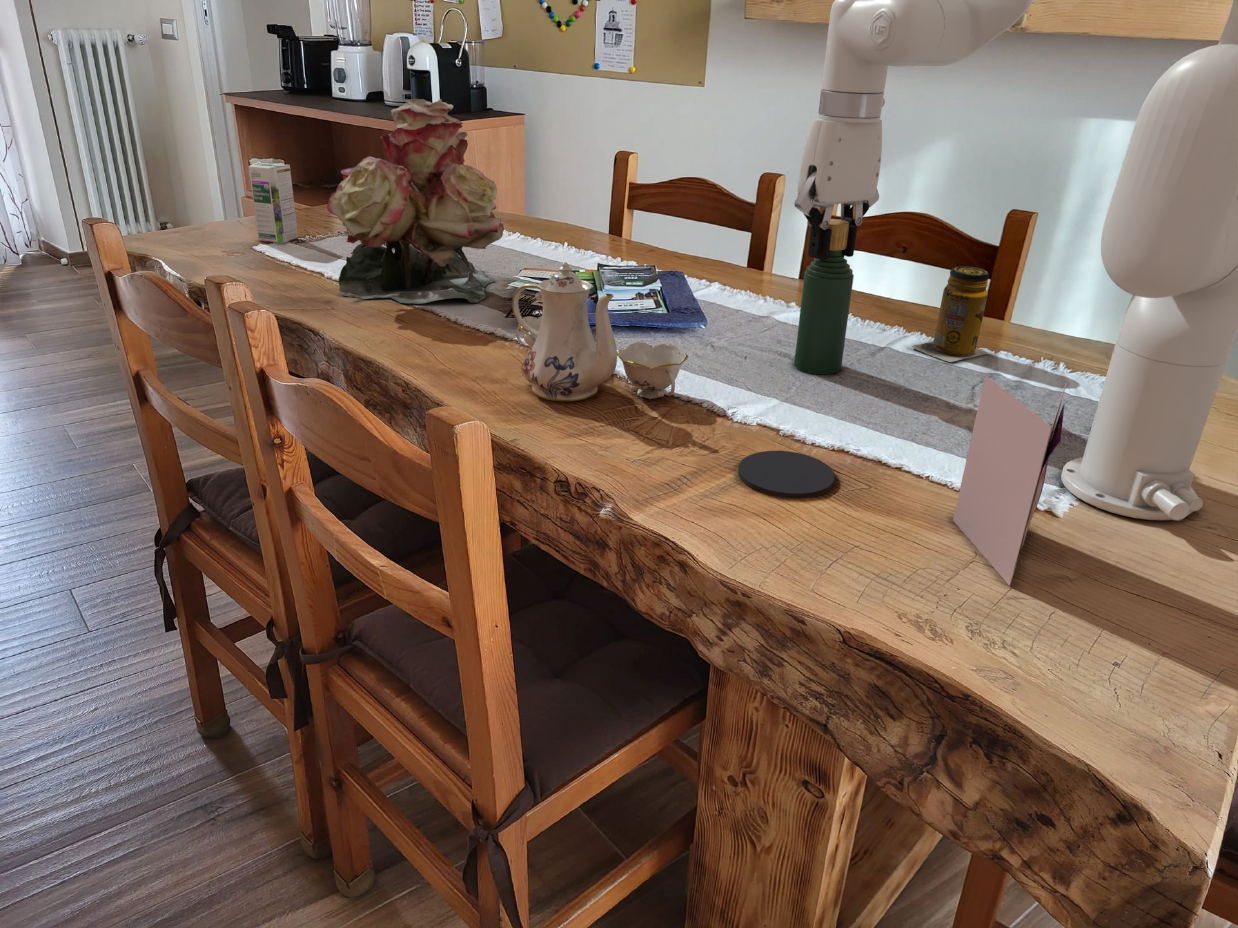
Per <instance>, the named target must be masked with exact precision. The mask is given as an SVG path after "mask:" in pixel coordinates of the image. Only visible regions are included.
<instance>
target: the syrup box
mask: <svg viewBox="0 0 1238 928" xmlns="http://www.w3.org/2000/svg"><path fill="white" fill-rule="evenodd" d="M290 166H291V165H290V164H282V163H281V164H279V163H270V162H269V163H268V162H259V163H255V164H254V163H253V164H251V165H249V166H248V174H249V182H250V188H251V189H250V190H251V194H252V202H253V203H252V204H253V209H254V215H255V225H256V231H257V239H258V242H268V243H269V242H270V243H277V244H285V243H287V242H290V241H293V240H295V239H299V232H298V223H297V214H296V208H295V197H294V190H293V182H292V180H293V179H292V173H291V167H290Z"/></svg>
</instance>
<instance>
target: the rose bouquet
mask: <svg viewBox="0 0 1238 928" xmlns="http://www.w3.org/2000/svg"><path fill="white" fill-rule="evenodd" d="M453 109H454V105H453V104H449V103H447V102H444V101H443V99H442V98H440V99H438V100H437V101H434V102H431V101H429V100H426V99H424V98H421V99H420V98H413V99H412V98H410V99H405V103H404V104H403V105H401V106H399V107H397V108H393V109H391V110H390V113H391V117H392V120H393V123H394V125H395V126H396V128H395V129H394V130H393V131H392V132H391V133H389V134H383V135H382V136H380V137H379V138H378V139H379V140H380V141H381V143H382V144H383V146H384V149H385V151H386V155H387V157H388V159H389V161H387V160H385V159H383V158H378V157H377V158H376V157H373V156H367V157H365V158H363V159H362V160H361V161H360V162H358V163H357V165H356V166H354V168H355V169H354V170H353V171H352V173H351V174H350V175H349V176H348V177H347V178H346V179H345V180H344V179H343V180H341V181H340V183H338V186H337V188H336V191H335V192H331V194H330V197H329V199H328V202H327V205H326V209H327V211H328V212H329V214H331V215H334V216H336V217H337V218H338V219H339V220H340V222H342V223H341V224H342V225H343V226H344V227H345V229H346V231H347V232H349V233H351V234H349V235H348V236H347V238H346V243H351V244H355V243H357V242H358V241H359V244H357V245H356V246H355V247H354V249H353V250H352V252H351V253H350V254H351V256H346V257H345V258H346V259H345V260H346V261H345V264H344V265H343V266H342V267H341V270H340V273H339V277H338V286H339V287H338V291H339V292H340V294H341V295H342V296H345V297H352V298H353V297H355V298H361V299H359V301H360V300H362V299H363V300H369V299H379V298H380V299H383V298H384V299H385V298H387V299H388V298H389V299H390V298H391V299H393V300H395V301H397V302H398V303H400V304H418V305H419V304H421V305H422V304H427V303H431V302H437V301H441V300H449V299H450V300H451V299H466V300H467V301H468V302H469V303H471V304H477V303H479V302H480V301H482V300H484V299H486V298H487V293H486V289H485V287H486V286H487V285H489V284H491V283H494V282H495V280H494V279H493V280H492V279H491V278H489V277H487V276H485V275H484V273H483V272H482V271H481V270H479V271H478V270H476V268H475V265H474V263H472V262H470V261H468V258H467V256H466V254H465V252H464V251H463V248H470V249H475V250H486V249H487V247H488V246H489V245H491V244H493V243H495V242H497V241H500V240H501V239H502V237H503V236H504V230H505V227H504V226H505V225H504V223H502V219H501V218H500V217H496V216H495V215H494V212H492V211H494V210H496V209H497V206H496V203H495V200H496V199H497V195H498V188H497V184H496V182H495V181H494V180H492V179H490V178H488V177H487V176H485V174H484V173H483V172H481V171H482V170H480V169H477V168H475V167H473V166H471V165H469V164H465V162H466V161H465V158H464V157H465V153H466V151H467V150H468V146H469V144H468V143H469V142H468V140H467V139H466V137H468V132H467V131H465V130H462V129H463V127H464V126H463V124H464V123H463V122H462V120H461V121H460V120H459V119H457V118H455V117H452V116H450V115H448V113H449V112H450V111H452V110H453ZM446 120H447V121H446ZM383 245H386V247H385V246H383ZM393 249H394V250H393Z"/></svg>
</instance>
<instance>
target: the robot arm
mask: <svg viewBox="0 0 1238 928" xmlns="http://www.w3.org/2000/svg"><path fill="white" fill-rule="evenodd" d="M1034 2H1035V0H834V1H833V2H832V4H831V7H830V12H829V13H830V14H829V20H828V21H829V22H828V28H827V29H828V31H827V38H826V46H825V55H824V56H825V57H824V62H823V63H824V64H823V71H822V81H821V90H820V97H819V105H818V112H817V117H813V118H812V121H811V123H810V126H809V129H808V132H807V135H806V139H805V144H804V147H803V153H802V157H801V161H800V162H801V163H800V168H799V173H798V174H799V175H798V181H797V182H798V183H797V196H796V199H795V200H794V203H793V206H794V207H795V208H796V209H798V211H800V212H801V213H802V214H803V215H804V218H805V219H806V220H807V225H808V226H810V234H809V242H808V247H807V249H808V250H807V256H808V257H811V258H814V259H815V258H816V259H820V260H827V259H828V256H829V249H830V241H831V233H832V231H831V230H832V229H828V227H829V223H830V219H832V215H833V211H834V207H835V205H840V220H845V221H848V222H849V231H848V238H847V246H846V249H844V250H842V254H843V255H844V257H847V258H851V257H853V256H854V255H855V254H854V253H855V247H856V240H857V232H858V227H859V226H861V224H863V217H865V215H866V214H867V213H868V211H869V209H870V208H871V207H872V206H874V205H875V204H876V203H877V202H878V201H879V200H880V193H879V190H878V184H879V179H880V171H881V163H882V151H883V120H882V119H881V116H882V110H883V107H884V106H885V103H886V101H885V98H884V96H885V89H886V83H887V77H888V76H887V75H888V69H889V67H943V66H949V65H952V64H956V63H958V62H961V61H963V60H964V59H967V58H968V57H970V56H971V55H973V54H975V53H976V52H978V51H979V50H981V49H982V48H984V47H985V46H986V45H988V44H989V43H990V42H992V41H994V40H995V39H997V38H998V37H1000V35H1002V34H1004V33H1005V32H1006V31H1007V30H1009V29H1010V28H1011V27H1012V26H1013V25H1015V24H1016V23H1017V22H1018V21H1019V20H1020V19H1021V18H1022V17H1023V16H1024V14H1025V13H1026V12H1027V11H1028V9H1029V8H1030V6H1031V5H1032V4H1033V3H1034ZM821 208H822V211H821ZM1103 222H1104V223H1103V227H1102V232H1101V236H1100V237H1101V238H1100V255H1101V260H1102V265H1103V267H1104V269H1105V272H1106V274H1107V276H1108V277H1109V279H1110V280H1111V281H1112V282H1113V283H1114V284H1115V285H1116V286H1117V287H1118V288H1119V289H1121V290H1122V291H1124V292H1125V293H1128V294H1129V295H1132V296H1131V298H1130V300H1129V302H1128V305H1127V307H1126V310H1125V313H1124V316H1123V318H1122V322H1121V325H1120V328H1119V331H1118V335H1117V338H1116V341H1115V344H1114V346H1113V347H1114V348H1113V351H1112V355H1111V358H1110V361H1109V366H1108V369H1107V372H1106V375H1105V379H1104V382H1103V385H1102V390H1101V393H1100V397H1099V400H1098V404H1097V407H1096V410H1095V414H1094V417H1093V421H1092V424H1091V429H1090V431H1089V434H1088V438H1087V442H1086V445H1085V449H1084V453H1083V456H1081V457H1077V458H1075V459H1071V460H1069V461H1068V462H1066V463H1065V465H1064V466H1063V468H1062V471H1061V475H1060V478H1061V483H1062V484H1063V486H1064V487H1065V488H1066V489H1067V490H1068V491H1069V493H1071V494H1072V495H1073V496H1075V497H1076V498H1077V499H1080V500H1081V501H1083V502H1085V503H1087V504H1089V505H1091V506H1093V507H1096V508H1097V509H1101V510H1103V511H1105V512H1109V513H1112V514H1116V515H1119V516H1124V517H1129V518H1133V519H1137V520H1138V519H1139V520H1147V521H1182V520H1184V519H1185V518H1186V517H1187V516H1189V515H1191V514H1192V513H1194V512H1196V511H1197V512H1198V511H1199V510H1201V509H1202V507H1204V501H1203V499H1202V498H1200V497H1198V495H1197V492H1196V491H1195V490H1194V488H1193V487H1192V484H1193V482H1194V478H1195V476H1196V473H1194V472H1193V471H1191V470H1190V469H1191V466H1192V463H1193V460H1194V457H1195V455H1196V452H1197V449H1198V446H1199V443H1200V440H1201V438H1202V435H1203V431H1204V429H1205V426H1206V423H1207V420H1208V418H1209V413H1210V411H1211V409H1212V405H1213V402H1214V399H1215V397H1216V394H1217V391H1218V388H1219V385H1220V382H1221V380H1222V377H1223V374H1224V371H1225V368H1226V365H1227V363H1228V361H1229V358H1230V355H1231V352H1232V349H1233V347H1234V343H1235V341H1236V338H1237V335H1238V0H1233V2H1232V4H1231V7H1230V11H1229V15H1228V17H1227V20H1226V23H1225V25H1224V27H1223V31H1222V33H1221V36H1220V38H1219V41H1218V43H1217V44H1214V45H1210V46H1206V47H1204V48H1199V49H1197V50H1195V51H1193V52H1190V53H1188V54H1187V55H1185V56H1183V57H1182V58H1180V59H1179V60H1178V61H1176V62H1175V63H1174V64H1172V65H1171V66H1169V68H1168V69H1166V70H1165V72H1163V74H1162V75H1161V76H1160V77H1159V78H1158V80H1157V81H1156V82H1155V84H1154V85H1153V87H1151V89H1150V90H1149V93H1148V94H1147V96H1146V98H1145V99H1144V101H1143V104H1142V106H1141V107H1140V109H1139V112H1138V115H1137V117H1136V121H1135V124H1134V126H1133V129H1132V132H1131V135H1130V139H1129V141H1128V145H1127V148H1126V151H1125V154H1124V158H1123V161H1122V163H1121V166H1120V169H1119V174H1118V176H1117V180H1116V182H1115V186H1114V188H1113V193H1112V195H1111V198H1110V202H1109V205H1108V208H1107V212H1106V215H1105V219H1104V221H1103Z"/></svg>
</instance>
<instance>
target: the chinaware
mask: <svg viewBox="0 0 1238 928" xmlns="http://www.w3.org/2000/svg"><path fill="white" fill-rule="evenodd" d="M558 270H559V271H558V272H555V273H553V274H552V275H551V278H550V279H543V280H542V281H540V282H538V284H537V283H533V282H532V283H531V282H529V283H525V284H523V285H520V286H518V288H517V289H516V290H515V292H514V294H513V296H512V302H511V308H512V313H513V316H514V318H515V320H516V322H517V323H518V325H517V326H516V329H515V337H516V339H517V341H518V343H519V344H521V345H522V346H524V347H528V348H529V349H530V350H529V352H528V353H527V355H526V357H525V358H524V360H523V362H522V364H521V367H520V371H521V374H522V376H523V377H524V378H525V379H526V380H527V381H528V382H529V383H530V384H531V385H532V386H531V392H532V393H533V394H534V395H535V396H537V397H538V398H540V399H543V400H547V401H553V402H562V403H563V402H564V403H568V402H569V403H570V402H579V401H585V400H588V399H590V398H592V397H594V396H595V395H596V394H597V393H598V391H599V387H598V386H599V385H601V384H602V383H603V382H604V381H606V380H607V379H609V378H610V377H611V376H612V375H613V374H614V373H615V370H616V368H617V362H618V358H619V359H620V361H621V363H622V366H623V369H624V373H625V376H626V377H627V379H628V381H629V382H630V383H631V384H632V386H634V387H635V388H637V394H636V395H637V397H642V398H644V399H649V400H652V399H657V398H663V397H665V396H667V397H671V396H672V395H674V393H675V390H676V379H677V377H678V375H679V373H680V370H681V367H682V366H683V363H685V362H686V361H688V359H689V354H687V353H686V352H681V351H680V350H679V349H678V347H677V346H676V345H673V344H671V343H660V344H657V345H654V346H653V345H651V344H649V343H646V342H634V343H631V344H629V345H628V346H627V347H626V348H625V349H619V350H618V349H617V348H618V347H617V343H616V338H615V335H614V332H613V329H612V325H611V320H610V317H609V316H610V315H609V311H608V307H609V303H610V301H612V299H613V298H614V297H615V295H614V294H613V293H604V294H603V295H602V296H600V297H599V298H598V301H597V303H596V305H595V332H596V336H595V337H596V341H595V339H594V336H593V332H592V329H591V325H590V321H589V314H588V313H589V312H588V301H589V296H590V291H591V289H592V288H593V287H592V286H593V284H592V283H590V282H589V281H587V280H584V279H580V277H579V276H578V274H577V273H575V272H573V271H572V270H573V269H572V267H570V264H569V263H568V262H567V261H564V262H563V263H562V264H561V266H560V267H559V268H558ZM527 289H537V290H540V291H539V292H536V293H535V294H534V298H535V299H536V300H537V301H542V312H541V315H540V316H538V317H535V316H531V315H529V316H523V317H522V314H521V312H520V307H519V299H520V295H521V294H522V292H523V291H525V290H527ZM519 331H520V332H522V333H523V340H522V339H521V338H520V335H519V333H520V332H519ZM668 387H670V392H669V393H668V392H667V391H666V390H665V389H667V388H668Z"/></svg>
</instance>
